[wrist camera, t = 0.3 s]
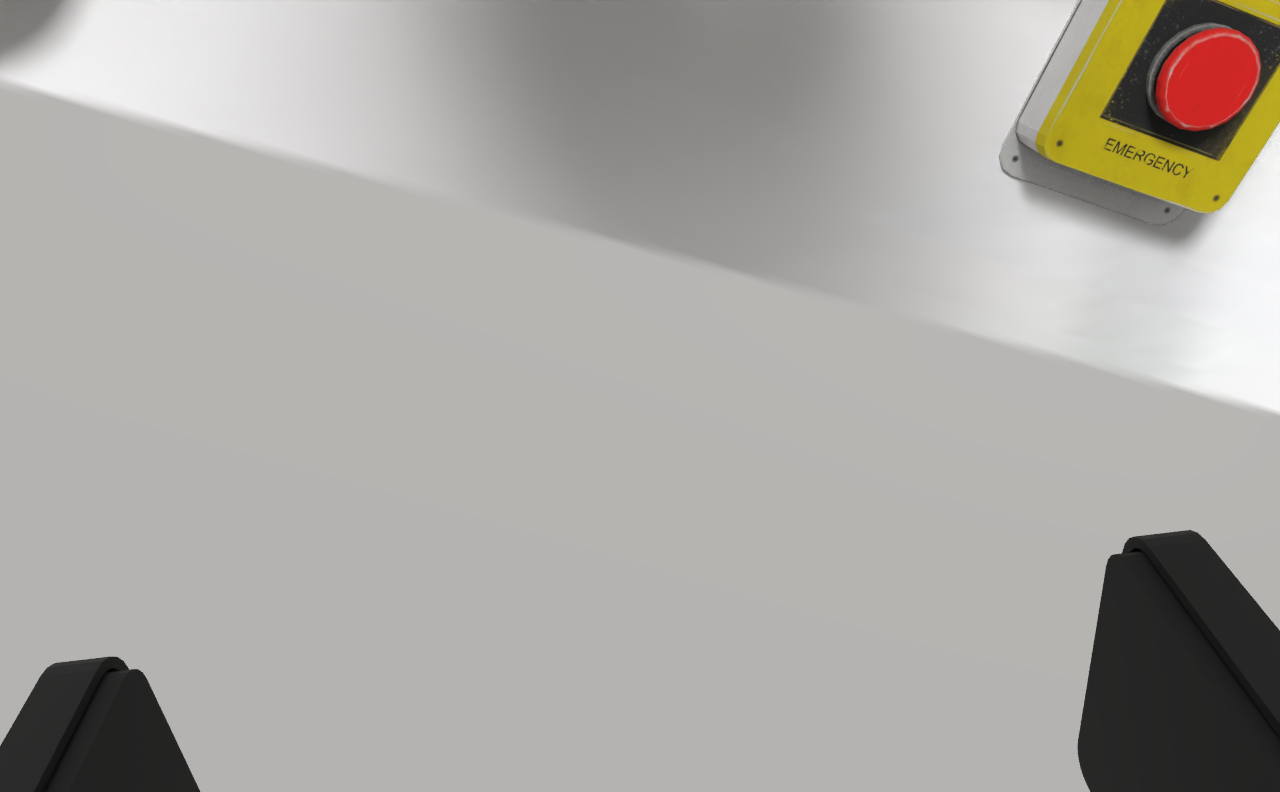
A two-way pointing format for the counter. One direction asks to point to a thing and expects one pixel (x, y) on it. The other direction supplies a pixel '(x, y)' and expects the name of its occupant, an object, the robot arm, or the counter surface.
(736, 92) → the counter surface
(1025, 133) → the emergency button
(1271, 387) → the counter surface
